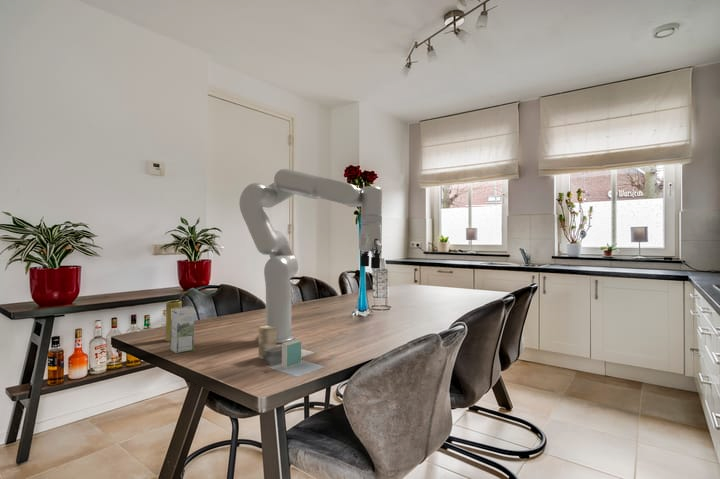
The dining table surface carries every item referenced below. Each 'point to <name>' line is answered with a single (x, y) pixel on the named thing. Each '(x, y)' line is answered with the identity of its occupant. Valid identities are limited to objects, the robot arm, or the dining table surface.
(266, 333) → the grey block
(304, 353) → the coaster
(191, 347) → the syrup box
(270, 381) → the dining table surface
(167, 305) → the vase
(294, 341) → the tile
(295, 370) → the mat
